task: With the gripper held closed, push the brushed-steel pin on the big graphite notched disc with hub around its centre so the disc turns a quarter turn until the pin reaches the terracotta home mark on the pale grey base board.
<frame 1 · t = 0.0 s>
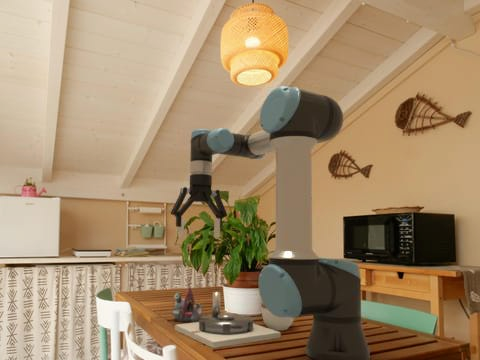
hand: (199, 237, 138), 28 cm above the table, tool pointing down, fingers open, 13 cm apart
grey maroon spiky lump: (187, 320, 141), on the table
base board: (225, 333, 122), on the table
lidded jar: (278, 329, 130), on the table
notched disc with hub: (226, 310, 123), point 6 cm above the table, hinge at 0.0°
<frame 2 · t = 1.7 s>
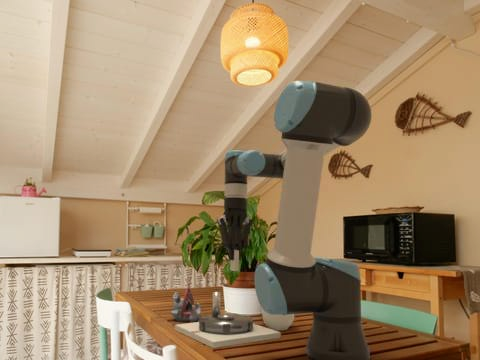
hand: (234, 270, 133), 18 cm above the table, tool pointing down, fingers closed
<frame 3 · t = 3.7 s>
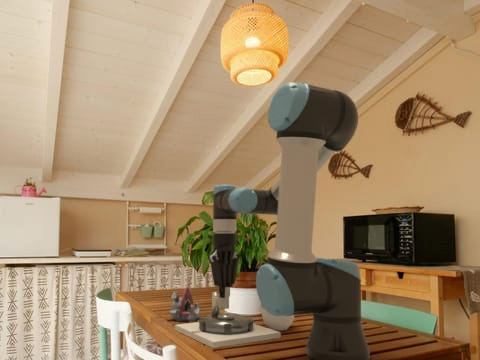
hand: (224, 308, 130), 6 cm above the table, tool pointing down, fingers closed
notched disc with hub: (226, 310, 123), point 6 cm above the table, hinge at 2.2°, touching gripper
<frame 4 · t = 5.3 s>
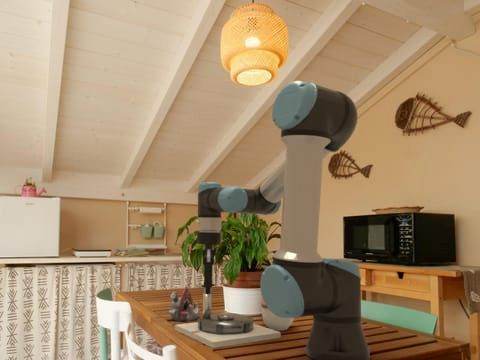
hand: (207, 308, 127), 6 cm above the table, tool pointing down, fingers closed
notched disc with hub: (226, 310, 123), point 6 cm above the table, hinge at 46.7°, touching gripper
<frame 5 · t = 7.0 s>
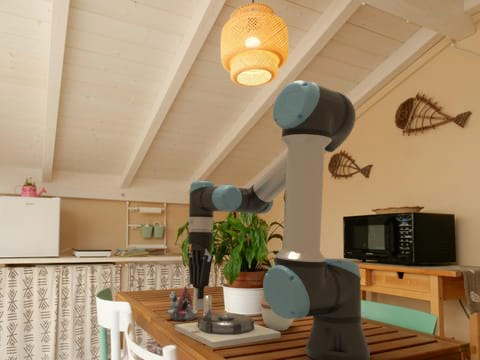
hand: (198, 309, 125), 6 cm above the table, tool pointing down, fingers closed
notched disc with hub: (226, 310, 123), point 6 cm above the table, hinge at 82.1°
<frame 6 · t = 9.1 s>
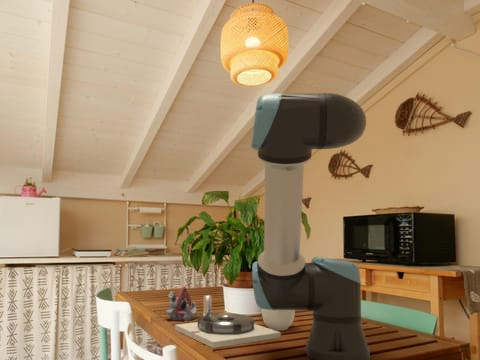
hand: (279, 240, 131), 27 cm above the table, tool pointing down, fingers closed
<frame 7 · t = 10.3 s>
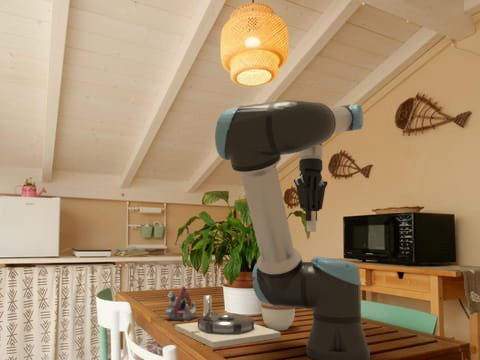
hand: (311, 231, 132), 30 cm above the table, tool pointing down, fingers closed
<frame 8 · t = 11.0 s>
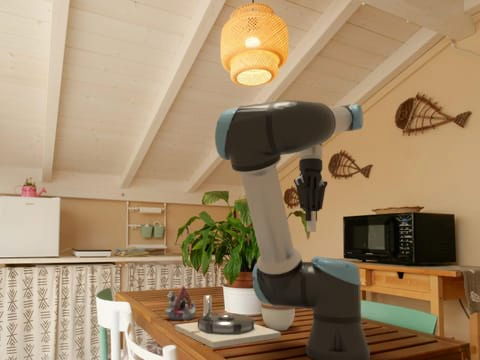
hand: (311, 231, 132), 30 cm above the table, tool pointing down, fingers closed
at the end: notched disc with hub at +82° (first picture: +0°) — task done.
